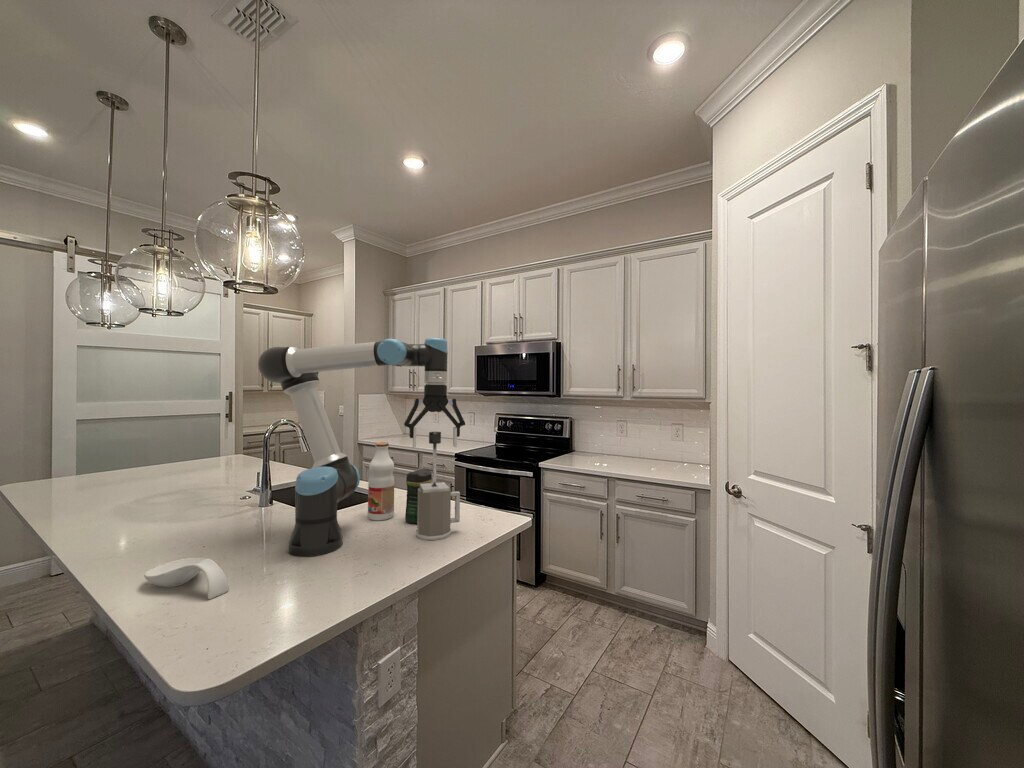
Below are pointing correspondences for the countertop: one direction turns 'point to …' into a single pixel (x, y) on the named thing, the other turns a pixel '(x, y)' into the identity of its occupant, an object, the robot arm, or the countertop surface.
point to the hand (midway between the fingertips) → (434, 447)
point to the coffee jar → (415, 492)
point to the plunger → (434, 451)
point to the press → (436, 511)
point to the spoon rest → (189, 574)
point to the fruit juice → (381, 484)
